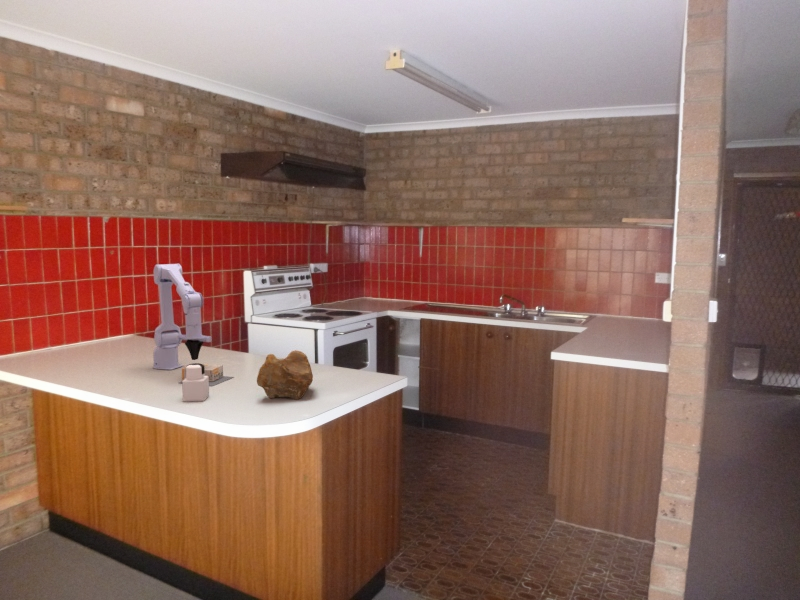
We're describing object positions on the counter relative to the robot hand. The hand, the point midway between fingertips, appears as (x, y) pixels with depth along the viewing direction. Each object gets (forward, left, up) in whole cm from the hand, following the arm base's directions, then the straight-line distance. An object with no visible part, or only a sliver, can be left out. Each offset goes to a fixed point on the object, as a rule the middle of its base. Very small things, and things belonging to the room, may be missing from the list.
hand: (194, 359), depth 226 cm
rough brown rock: (+46, -8, -8) cm, 47 cm away
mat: (+5, 0, -8) cm, 9 cm away
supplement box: (-4, 0, -5) cm, 7 cm away
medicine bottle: (+17, -22, -8) cm, 29 cm away
